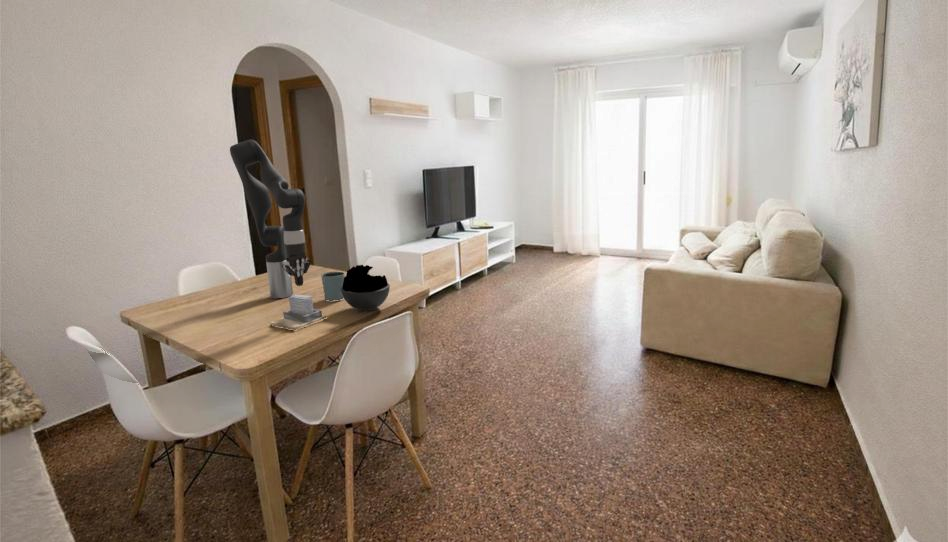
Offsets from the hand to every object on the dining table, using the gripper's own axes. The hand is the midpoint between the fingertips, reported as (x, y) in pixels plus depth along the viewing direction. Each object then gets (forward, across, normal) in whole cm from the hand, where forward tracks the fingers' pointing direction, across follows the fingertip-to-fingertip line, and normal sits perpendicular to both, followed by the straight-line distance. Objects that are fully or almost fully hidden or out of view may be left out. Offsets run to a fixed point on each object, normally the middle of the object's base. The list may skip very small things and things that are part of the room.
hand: (299, 285), depth 193 cm
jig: (+15, +2, 0) cm, 15 cm away
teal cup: (+15, -28, -11) cm, 34 cm away
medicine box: (+13, 0, 0) cm, 13 cm away
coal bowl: (+15, -23, +13) cm, 30 cm away
